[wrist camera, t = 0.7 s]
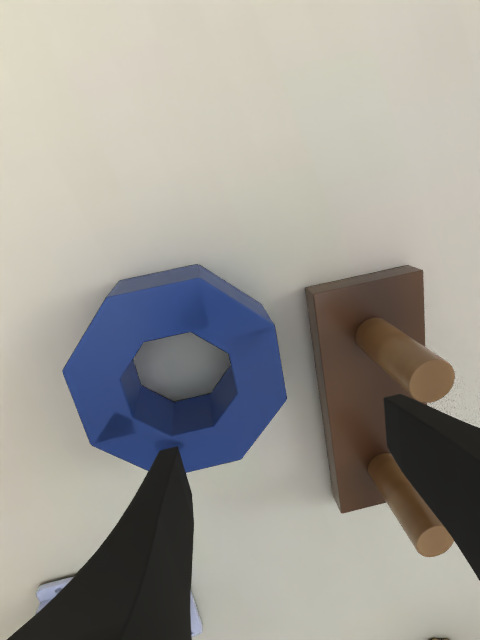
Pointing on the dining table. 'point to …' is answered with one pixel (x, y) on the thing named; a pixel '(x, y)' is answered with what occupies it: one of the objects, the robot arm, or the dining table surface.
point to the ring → (157, 411)
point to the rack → (375, 390)
